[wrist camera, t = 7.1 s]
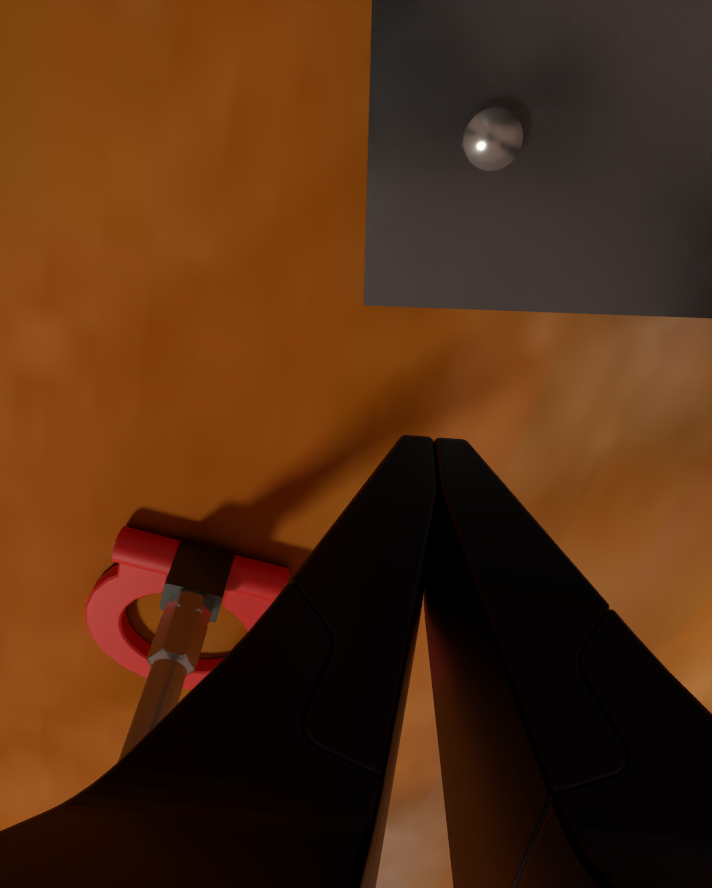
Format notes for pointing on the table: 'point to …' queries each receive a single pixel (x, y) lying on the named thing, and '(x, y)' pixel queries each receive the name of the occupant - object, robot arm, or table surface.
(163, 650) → the tow hook
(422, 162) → the hinge
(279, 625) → the robot arm
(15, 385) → the table surface
